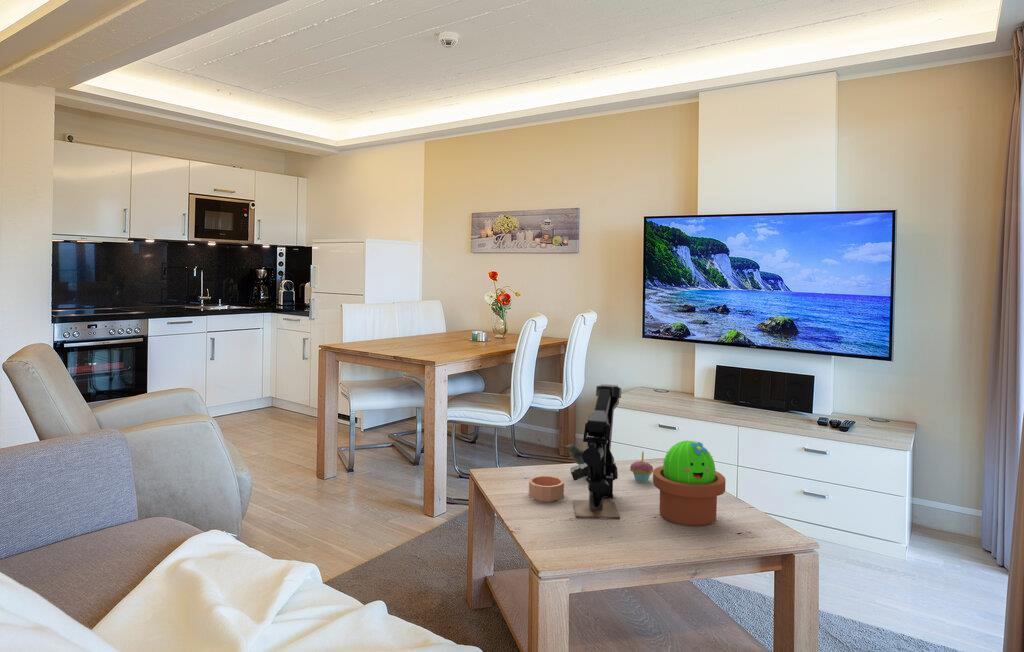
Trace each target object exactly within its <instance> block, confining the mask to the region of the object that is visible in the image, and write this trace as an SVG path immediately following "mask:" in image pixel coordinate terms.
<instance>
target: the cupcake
mask: <svg viewBox="0 0 1024 652" xmlns="http://www.w3.org/2000/svg"><path fill="white" fill-rule="evenodd" d="M644 453H645V452H644V451H642V452H641V460H638V461H635V462H633V463H631V465H630V467H629V468H630V469H629V470H630V472H632V475H633V477H634V480H635V481H636V482H638V481H639V482H638V483H647V482H649V479H650V477H651V475H652V474H653V471H654V467H653V466H652V464H651V463H649V462H647V461H644Z"/></svg>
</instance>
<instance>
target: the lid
mask: <svg viewBox="0 0 1024 652" xmlns="http://www.w3.org/2000/svg"><path fill="white" fill-rule="evenodd" d="M588 491H589V490H588ZM588 495H589V496H588V500H584V499H582V500H581V499H572V504H573V510H574V511H575V512H574V511H573V512H574V516H575V517H579V518H578V519H598V518H607V520H609V519H610V520H620V519H621V516H620V513H619V510H618V507H617V504H616V502H615V501H616V500H604V497H603V498H602V500H601V502H600V504H599V506H598V507H595V505H594V499H593V493H592V492H590V491H589V493H588Z"/></svg>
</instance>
